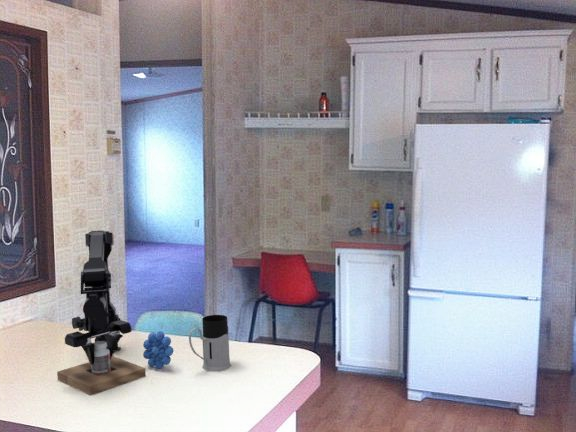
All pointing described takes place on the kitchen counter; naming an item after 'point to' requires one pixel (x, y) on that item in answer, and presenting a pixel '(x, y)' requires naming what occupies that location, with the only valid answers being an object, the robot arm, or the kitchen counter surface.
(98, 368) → the pill bottle
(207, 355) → the glass holder
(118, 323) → the robot arm
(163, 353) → the grapes
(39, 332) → the kitchen counter surface
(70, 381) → the hole plate
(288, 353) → the kitchen counter surface
